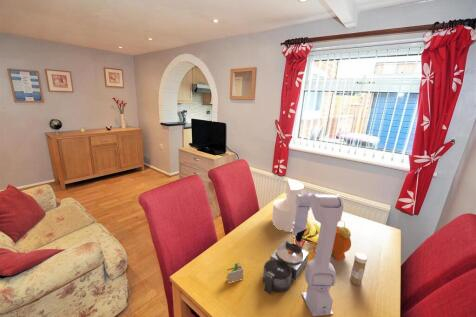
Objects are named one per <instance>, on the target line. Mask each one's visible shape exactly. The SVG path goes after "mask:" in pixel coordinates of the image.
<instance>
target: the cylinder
mask: <svg viewBox="0 0 476 317" xmlns="http://www.w3.org/2000/svg"><path fill="white" fill-rule="evenodd" d="M286 185H287V186H286V197H285V198H279V199H276V200H274V201H273V206H272V219H271V223H272V222H273V224H274V225H275V226H276V227H277V228H279V229H281V230H284V231H289V232H288V233H291V232H290V231H291V229H292V228H293V227H294V225H293V224H292V223H293V222H295V216H296V207H297V205H296V195H297V194H299V195H303V193H304V188H305V185H304V184H303V183H302V182H300V181H297V180H294V179H289V178H288V179H287V184H286ZM284 231H283V232H284Z"/></svg>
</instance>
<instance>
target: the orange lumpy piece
mask: <svg viewBox="0 0 476 317" xmlns="http://www.w3.org/2000/svg"><path fill="white" fill-rule="evenodd" d="M341 222H343V224H344V226H339V225H337V229H336V234H335V239H334V244H333V249H332V253H331V255H333V256H334V259H335V260H337V261H338V262H339V261H341V260H344V259H345V258H346V255H345V253H347V252H348V251H350V249H351V247H352V239H351V236H352V234H351V231H350V229H349V228H347V227H346V222H345V221H343V220H342V219H341Z"/></svg>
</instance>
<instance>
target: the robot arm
mask: <svg viewBox="0 0 476 317" xmlns="http://www.w3.org/2000/svg"><path fill="white" fill-rule="evenodd" d="M296 205H297V207H296V216H295V222H293V223H292V224H293V225H294V228H293V231H292V232H291V233H292V234H291V235H293V236H294V237H295V241H296V242H297V243H301V241H303V237H304V235H305V233H306V231H307V229H308V228H307V227H308V226H307V225H308V217H309V211H310V210H311V212H312V215H313V218H314V220H315V221H317V222H318V223H320V227H319V232H318V238H317V243H316V248H315V249H316V250H315V256H314V258H313V259H311V260H309V261H307V264H306V265H305V267H304V278H305V282H306V283H307V289H306V291H304V292H301V295H302V297H303V299H304V301H305V303H306V305H307V308H308V309H309V312H310V314H311V315H312V317H319V316H327V315H333V310H332V308H333V302H334V301H333V297H332V296H331V294H330V290H329V289H331V287H333V286H335V284H336V269H335V267H334V265H333V264H332V263H331V258H332V249H333V244H334V239H335V234H336V229H337V226H338V224H339V222H340V221H341V220H342V215H343V212H344V203H343V199H342V197H341V196H340V195H339V194H335V195H334V194H330V193H311V191H306V192H303V195H299V194H297V195H296ZM341 222H342V221H341Z"/></svg>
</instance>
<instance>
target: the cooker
mask: <svg viewBox="0 0 476 317" xmlns="http://www.w3.org/2000/svg"><path fill="white" fill-rule="evenodd" d="M281 244H286V241H283V242H282V243H281ZM302 251H303V254H304V258H303V260H302V261H301V262H300V263H296V264H291V263H287V262H285V261H283V260H281V259H280V258H279V257H278V255H277V248H276V249H275V250H274V252H272V253H271V255H270V258H269V260H267V261H265V263H264V265H263V273H262V274H263V275H262V281H263V284H264V283H265V284H264V287H263V288H264V290H263V291H264V292H265V291H266V292H265V293H267V294H269V295H270V296H271V295H272V294H273V292H274V293H279V294H280V293H282V294H283V293H285V292H287V291H289V290H290V288H291V286H292V285H291V284H292V280H293V281H294V282H297V279H298V278H299V276H300V275H301V273H302V272H303V270H305V268H306V266H307V263H308V259H309V252H308V251H306V250H303V249H302Z"/></svg>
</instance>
